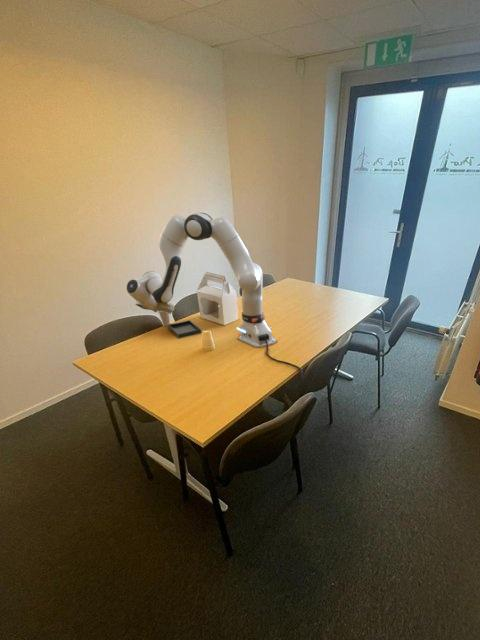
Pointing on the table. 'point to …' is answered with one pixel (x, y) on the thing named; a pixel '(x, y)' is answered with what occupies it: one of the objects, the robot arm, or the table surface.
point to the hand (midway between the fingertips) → (163, 311)
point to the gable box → (217, 300)
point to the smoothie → (165, 318)
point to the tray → (184, 329)
